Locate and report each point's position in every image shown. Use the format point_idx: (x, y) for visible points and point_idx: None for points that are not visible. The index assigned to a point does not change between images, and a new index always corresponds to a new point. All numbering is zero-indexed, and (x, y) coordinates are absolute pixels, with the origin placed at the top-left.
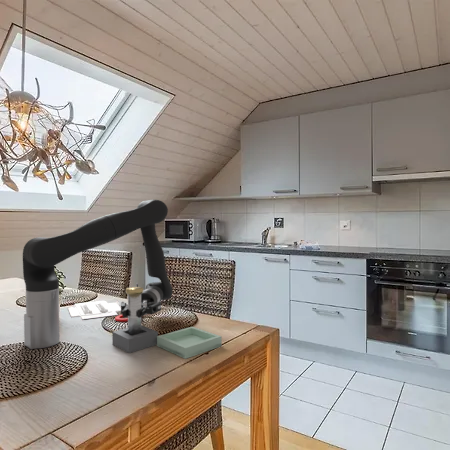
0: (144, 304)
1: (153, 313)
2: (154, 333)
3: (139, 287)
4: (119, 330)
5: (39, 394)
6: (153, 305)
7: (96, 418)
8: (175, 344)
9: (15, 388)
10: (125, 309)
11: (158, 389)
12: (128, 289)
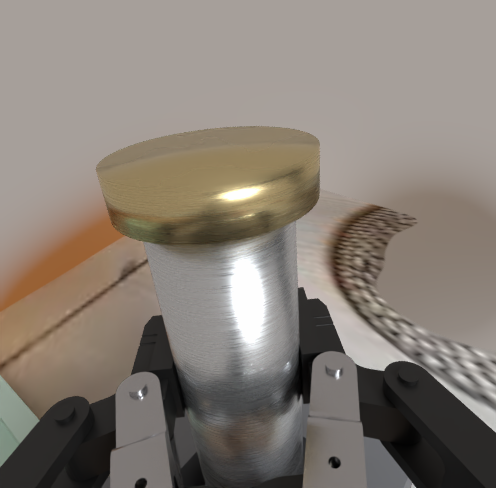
0: (146, 437)
1: (63, 481)
2: (106, 484)
3: (154, 177)
4: (388, 485)
5: (332, 218)
6: (26, 456)
7: None
8: (10, 388)
9: (398, 220)
10: (298, 300)
11: (113, 255)
12: (264, 132)
